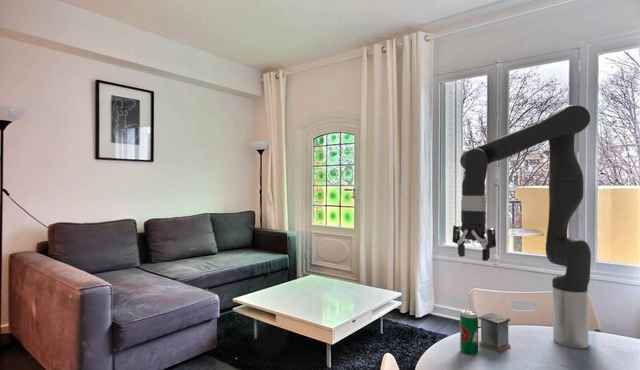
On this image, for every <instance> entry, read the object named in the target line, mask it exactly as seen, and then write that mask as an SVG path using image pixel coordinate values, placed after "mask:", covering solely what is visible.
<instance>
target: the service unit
mask: <svg viewBox="0 0 640 370" xmlns="http://www.w3.org/2000/svg"><path fill="white" fill-rule="evenodd" d="M478 320H480V341H478V346H480V347H481V346H482V347H484V348H486V349H489V350H492V351H493V352H497V353H501V352H503V351H505V350H507V349H509V348H511V343H510V342H509V322H511V318H508V317H506V316H502V315H498V314H495V313H492V312H490V313H487V314H484V315H481V316H478Z"/></svg>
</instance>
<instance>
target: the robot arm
mask: <svg viewBox="0 0 640 370" xmlns="http://www.w3.org/2000/svg"><path fill="white" fill-rule="evenodd" d="M590 122H591V114H590V112H589V110H588V109H587V108H586V107H584V106H583V105H580V104H570V105H566V106H564V107H562V108H561V107H560V108H559V109H557V110H555V111H553V112H552V113H551V114H550V115H549V117H548V118H545V119H544V120H541V121H540V122H537V123H535V124H532V125H530V126H527V127H524V128H521V129H519V130H516V131H512V132H510V133H508V134H504V135H502V136H501V137H498V138H497V137H496V138H495V139H493V140H491V141H489V142H487V143H485V144H482V145H479V146H477V147H475V148H471V149H469V150H466V151H465V152H464V153H462V154H461V156H460V160H459V163H460V165H461V167H462V168H463V169H464V178H463V180H462V183H461V199H460V200H461V201H460V209H461V211H460V221H461V225H458V224H457V225H455V224H454V225H453V227H452V243H454V244H456V245H457V255H458V257H461V258H463V257H465V256H466V247H465V246H466V245H465V244H466V242H468V241H477V243H479V244H480V246H481V248H482V250H481V251H482V253H481V254H482V255H481V256H482V257H481V258H482V259H481V260H482V261H483V262H486V261H489V259H490V258H491V257H490V255H491V253H490V251H491V249H492V248H496V246H497V242H496V240H497V238H496V229H495V228H486V223H487V219H486V218H487V214H486V213H487V210H486V209H487V202H486V179H487V178H486V177H487V172H488V165H490V164H492V163H494V162H497V161H501V160H504V159H508V158H510V157H513V156H515V155H517V154H519V153H521V152H522V153H523V152H524V151H526V150H528V149H530V148H533V147H535V146H537V145H540V144H542V143H544V142H546V141H548V146H549V167H548V168H549V173H548V174H549V176H548V200H549V201H548V203H549V204H548V223H547V229H546V230H547V232H546V239H545V240H546V241H545V256H546V258H547V260H548V261H549V262H550V263H551V264H553V265H557V266H562V267H566V268H565V269H566V270H565V274H564V275H559V276H554V277H553V278H552V282H551V284H552V285H551V286H552V329H553V330H552V339H553V341H554V342H555V343H557V344H559V345H561V346H564V347H567V348H572V349H587V348H589V301H588V300H589V298H588V295H589V294H588V291H589V290H588V287H589V286H588V285H589V283H590V281H591V280H590V279H591V264H592V263H591V262H592V252H591V248H590V246H589V244H588V243H587V242H586V241H585V240H584V239H583V240H582V239H578V238H572V237H568V227H569V222H570V220H571V218H572V216H573V215H574V213H575V212H576V211H577V209H578V208H579V206H580V205H581V202H582V200H583V198H584V175H583V171H582V168H581V166H580V163H579V161H578V159H577V156H576V152H575V136H576V135H575V134H579V133H581V132H582V131H583V130H585V129H586V128H587V127H588V126H589V124H590ZM461 232H462V234H461ZM485 235H486V236H487V237H486V236H485Z"/></svg>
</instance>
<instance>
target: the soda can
mask: <svg viewBox="0 0 640 370" xmlns="http://www.w3.org/2000/svg"><path fill="white" fill-rule="evenodd" d="M460 312H461V313H460V314H459V343H460V345H459V346H460V347H459V348H460V351H461V352H462V354H463V353H464V354H466V355H470V356H475V355H477V354H478V353H479V316H478V314H477V312H476V311H475V310H471V309H463V310H461V311H460Z"/></svg>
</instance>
